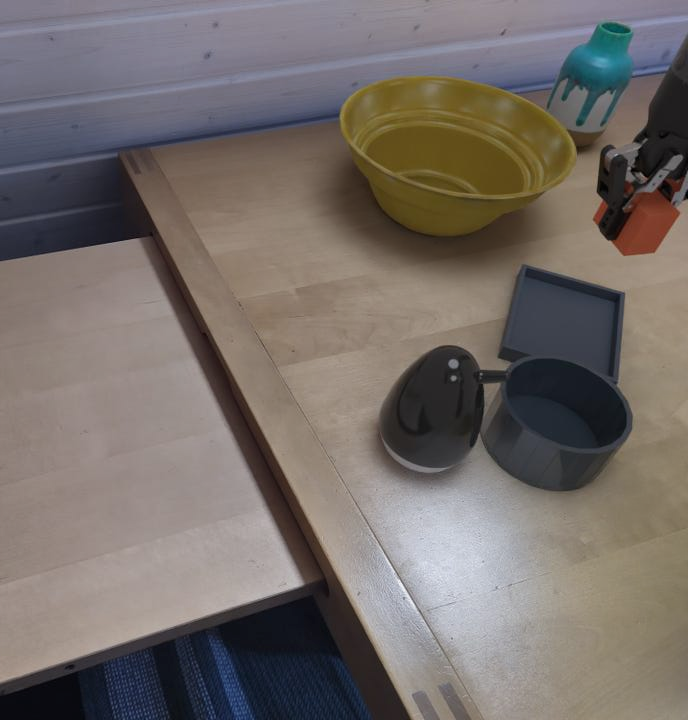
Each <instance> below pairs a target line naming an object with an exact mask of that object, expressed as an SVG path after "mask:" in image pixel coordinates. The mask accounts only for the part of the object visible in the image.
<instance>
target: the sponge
mask: <svg viewBox="0 0 688 720" xmlns="http://www.w3.org/2000/svg"><path fill="white" fill-rule="evenodd" d="M643 177H644V176H643ZM644 179H645V180H647V179H648V178H646V177H644ZM632 191H633V186H631V187H630V189H629V190H628V191H627V193H626V194H627V195H628V196H629V195H630V194H631V193H632ZM607 207H608V205H607V204H606V203H605V201H604V200H603V199H602V200H601V203H600V204H599V207H598V209H597V210H596V212H595V214H594V215H593V218H592V221H593V222H594V223H595V225H596V226H597V227H598V224H599V222H600V220H601V218H602V216H603V215H604V213H605V211H606V209H607ZM631 212H632V214H631V215H630V217H629V219H628V221H627V222H626V224H625V226H624V227H623V229H622V231H621V233H620V234H619V236H618V238H617V239H616V240H612V241H610V242H611V243H612V245H613V246H614V247H615V248H616V249H617V250H618V251H619V253H620V254H621V255H622V256H623V257H629V256H640V255H649V254H656V252H657V250H658V248H660V246H661V244H662V243H663V241H664V239H665V238H666V237H667V236H668V233H669V231H670V230H671V229H672V227H673V226H674V224H675V222H676V221H677V220H678V218H679V216H680V215H681V211H680V210H679V209H677V207H676V208H675V207H674V206H673V205H672V204H671V203H670V202H669V201H668V200H667V199H666V198H665V197H664V196H663V195H662V194H661V193H660V192H659V191H658V190H657V189H655V191H654V192H653V193H652V194H646V195H645V196H644V197H643V199H642V200H641V201H640V202H639V204H638V205H637V206H636V207H635V208H634V210H632V211H631Z"/></svg>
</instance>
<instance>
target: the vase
mask: <svg viewBox="0 0 688 720" xmlns="http://www.w3.org/2000/svg"><path fill="white" fill-rule="evenodd" d="M634 34H635V29H634V28H633V27H632V26H631V25H629V24H628V23H625V22H622V21H618V20H610V19H609V20H608V19H607V20H602V21H600V22H598V23H597V25H596V27H595V28H594V31H593V33H592V35H591V37H590V39H589V40H588V41H587V42H585V43H581V44H579V45H577V46H575V47H574V48H573V49H571V51H570V52H569V53H568V54H567V57H566V58H565V60H564V62H563V63H562V66H561V67H560V70H559V71H558V74H557V76H556V79H555V81H554V82H553V85H552V88H551V91H550V93H549V96H548V99H547V102H546V105H545V108H544V110H545V111H546V112H548V113H549V114H550V115H552V116H553V117H554V118H555V119H556V120H557V121H559V122H560V123H561V124H562V125H563V127H564V128H565V129H566V130H567V132H568V133H569V135H570V136H571V138H572V139H573V142H574V144H575V147H576V148H578V147H579V148H580V147H584V146H588V145H591V144H592V143H594V142H595V141H597V140H598V139H599V138H600V137H601V136H602V135H603V134H604V132H605V131H606V130H607V128H608V127H609V125H610V123H611V122H612V120H613V118H614V116H615V114H616V112H617V111H618V109H619V107H620V104H621V103H622V101H623V98H624V96H625V94H626V92H627V90H628V87H629V85H630V82H631V80H632V77H633V73H634V68H635V62H634V58H633V57H632V55H631V54H630V53H629V51H628V50H629V47H630V44H631V41H632V40H633V37H634Z"/></svg>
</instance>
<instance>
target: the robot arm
mask: <svg viewBox="0 0 688 720" xmlns="http://www.w3.org/2000/svg"><path fill="white" fill-rule="evenodd" d="M597 173H598V174H597V183H596V194H597V195H598V196H599V197H600V199H602V201H603V200H604V201H605V203H606V204H607V205H608V207H607V209H606V211H605V213H604V215H603V216H602V218H601V220H600V222H599V224H598V226H597V228H598V229H599V232H600V233H601V235H602V236H603V237H604V238H605V240H607V241H608V242H611V241H612V240H616V239H617V238H618V236H619V234H620V233H621V231H622V229H623V227H624V226H625V224H626V222H627V221H628V219H629V217H630V215H631V214H632V212H631V211H632V210H634V208H635V207H636V206H637V205H638V204H639V202H640V201H641V200H642V199H643V197H644V196H645V195H646V194H652V193H653V192H654V191H655V189H657V190H658V191H659V192H660V193H661V194H662V195H663V196H664V197H665V198H666V199H667V200H668V201H669V202H670V203H671V204H672V205H673V206H674V207H675V208H676V209H677V208H678V207H679V206H681V204H682V203H683V202H685V201H688V33H686V35H685V37H684V39H683V41H682V43H681V44H680V46H679V48H678V50H677V52H676V54H675V56H674V58H673V60H672V61H671V63H670V65H669V67H668V69H667V71H666V73H665V75H664V76H663V79H661V82H660V83H659V86H658V88H657V89H656V91H655V94H654V95H653V97H652V99H651V101H650V103H649V105H648V112H647V121H646V125H644V127H643V128H642V129H641V130H640V131H639V132H638V133H637V134H636V135H635V137H634V138H633V140H632V142H631V143H628V144H626V145H623V146H620V147H618V148H616V147H615V146H614V145H613V144H611V143H609V144H606V145H605V146H603V147H602V149H601V150H600V154H599V163H598V171H597ZM644 177H645V178H646V179H647V180H645V179H644ZM631 186H633V191H632V193H631V194H630V195H629V196H628V195H627V194H626V193H627V191H628V190H629V189H630V187H631Z"/></svg>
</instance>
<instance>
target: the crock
mask: <svg viewBox="0 0 688 720" xmlns="http://www.w3.org/2000/svg"><path fill="white" fill-rule="evenodd" d="M505 371H509V372H510V380H509V381H508V382H501V383H496V386H495V388H494V390H493V392H492V394H491V396H490V398H489V400H488V403H487V404H486V406H485V407H484V415H483V420H482V425H481V429H480V436H481V440H482V442H483V445H484V447H485V449H486V450H487V452H488V454H489V455H490V457H491V458H492V459H493V461H494V462H495V463H496V464H497V465H498V466H500V467H501V468H502V470H504V471H505V472H506V473H508V474H509V475H511V476H512V477H514V478H516V479H517V480H519V481H521V482H523V483H525V484H527V485H529V486H533V487H535V488H538V489H542V490H547V491H552V492H553V491H554V492H570V491H575V490H579V489H582V488H584V487H587V486H588V485H590V484H591V483H592V482H593V481H595V479H596V478H597V477H598V476H600V475H601V474H602V472H603V471H604V470H605V468H606V467H607V466H608V464H609V463H610V462H611V461H612V459H613V458H615V456H616V455H617V453H618V452H619V451H620V449H622V447H623V446H624V444H625V443H626V442H627V441H628V438H629V437H630V434H631V433H632V431H633V424H634V423H633V421H634V416H633V411H632V409H631V406H630V404H629V401H628V399H627V397H626V396H625V395H624V394H623V392H622V390H620V388H619V387H618V386H617V385H615V384H614V383H613V382H611V381H610V380H609V379H608V378H607V377H606V376H605V375H603V374H602V373H600V372H598V371H597V370H595V369H593V368H592V367H590V366H588V365H586V364H584V363H581V362H579V361H576V360H574V359H571V358H567V357H562V356H557V355H532V356H528V357H524V358H520V359H519V360H517V361H516V362H512V363H511V364H509V365H508V366H507V368H506V369H505Z"/></svg>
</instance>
